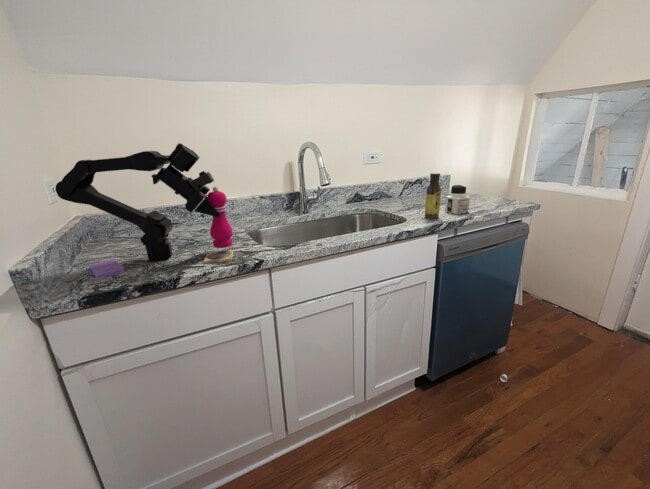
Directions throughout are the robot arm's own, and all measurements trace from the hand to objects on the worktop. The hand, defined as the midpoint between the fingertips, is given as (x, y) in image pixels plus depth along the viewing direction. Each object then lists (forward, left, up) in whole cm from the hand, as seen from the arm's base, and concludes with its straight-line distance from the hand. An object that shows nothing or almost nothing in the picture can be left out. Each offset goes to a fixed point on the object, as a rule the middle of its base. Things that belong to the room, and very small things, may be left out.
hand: (220, 214), depth 102 cm
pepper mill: (-1, 0, -11) cm, 11 cm away
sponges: (-35, -6, -14) cm, 38 cm away
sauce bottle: (+90, +21, -13) cm, 93 cm away
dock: (-2, -5, -13) cm, 14 cm away
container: (+106, +26, -13) cm, 110 cm away
